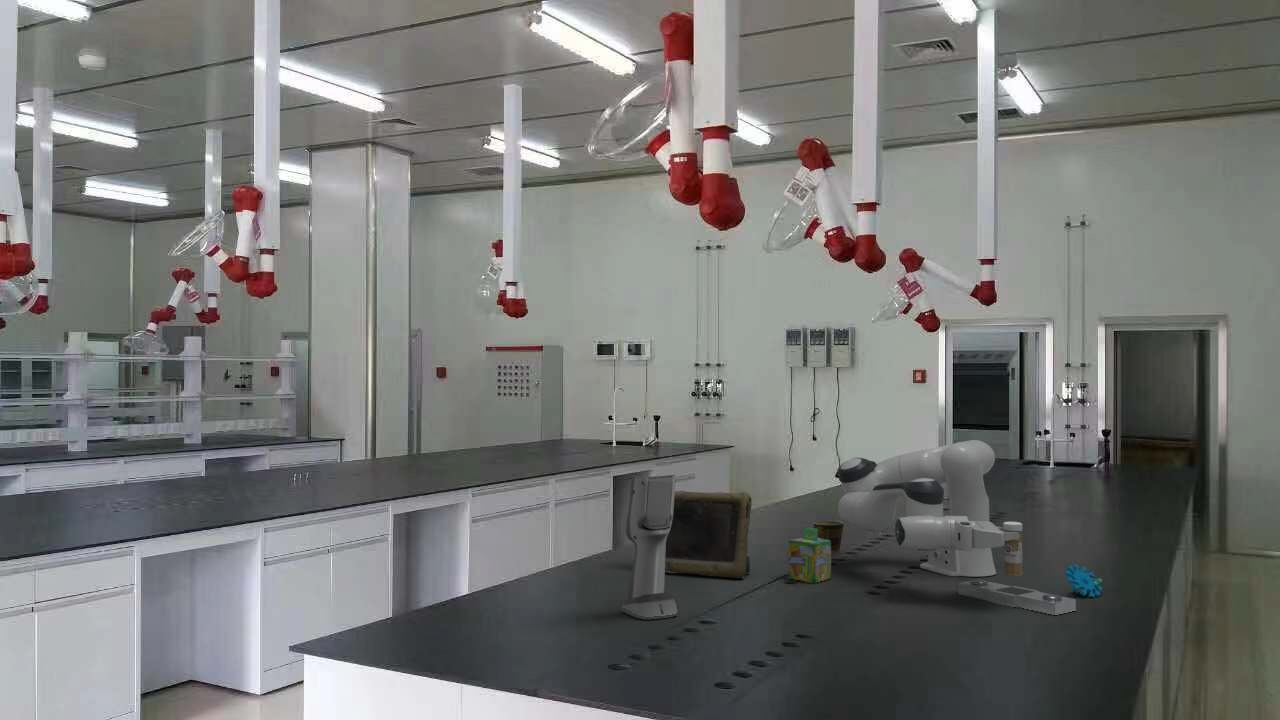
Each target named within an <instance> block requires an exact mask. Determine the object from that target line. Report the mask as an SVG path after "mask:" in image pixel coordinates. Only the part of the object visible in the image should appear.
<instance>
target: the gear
mask: <svg viewBox="0 0 1280 720" xmlns="http://www.w3.org/2000/svg"><path fill="white" fill-rule="evenodd" d="M1079 567H1080V566H1079V565H1078V564H1075V563H1074V564H1073V565H1068V566H1067V568H1066V572H1065V573H1064V575H1065V576H1067V577H1068V578H1067V579H1066V581H1067V583H1069V584H1074V585H1072V587H1071V588H1072V589H1071V590H1070V591H1071V593H1072V592H1075V593H1076V592H1078V591H1079V589H1080V590H1081V591H1080V595H1082V596H1083V597H1085V596H1086V595H1087V593H1089V594H1088V597H1089V598H1090V597H1093V598H1094V597H1099V596H1100V595H1101V593H1100V592H1101V591H1102V589H1103V588H1102V586H1100V584H1101V583H1102V582H1103V580H1102V578H1100V577H1099V578H1094V577H1095V574H1094V573H1093V572H1092V571H1090V572H1089V573H1086V571H1087V567H1085V566H1081V568H1080V570H1079ZM1087 591H1088V592H1087Z"/></svg>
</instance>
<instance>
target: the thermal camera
mask: <svg viewBox="0 0 1280 720" xmlns="http://www.w3.org/2000/svg"><path fill="white" fill-rule="evenodd" d="M676 479H677V478H676V475H674V474H671V475H667V474H666V475H659V476H658V475H657V476H639V477H632V478H631V480H630V488H629V489H630V491H629V502H628V508H627V509H628V510H627V517H626V524H625V525H626V526H625V535H626V537H627V539H628V540H629V541H631V542H632V543H633V544H634V545H635V555H634V560H633V565H632V570H631V575H630V580H629V585H628V594H627V595H628V596H627V600H626V601H624V602H623V604H621V608H622V607H623V608H626V609H627V610H629V611H631V612H632V613H634V614H637V615H639V616H644V617H654V616H665V615H672V614H676V613H677V612H678V609H677V608H678V607H677V604H676V602H675V601H676V600H675V599H674V597H673V595H672V594H671V593H669V592H665V576H666V573H665V552H666V539H667V536H668V534H669V531H670V529H671V524H672V519H673V511H674V496H675V491H676Z"/></svg>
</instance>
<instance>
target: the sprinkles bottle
mask: <svg viewBox="0 0 1280 720" xmlns="http://www.w3.org/2000/svg"><path fill="white" fill-rule="evenodd" d="M1002 527H1003V529H1004V532H1018V533H1019V539H1018V540H1007V541H1004V546H1003V553H1004V554H1003V559H1004V560H1003V561H1004V572H1003V574H1004V575H1006V576H1009V577H1021V576H1023V574H1024V573H1023V542H1022V541H1023V540H1022V539H1023V536H1022V532H1023V523H1021V522H1020V521H1019V522H1018V521H1004V522H1003V525H1002Z"/></svg>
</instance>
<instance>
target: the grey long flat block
mask: <svg viewBox="0 0 1280 720" xmlns="http://www.w3.org/2000/svg"><path fill="white" fill-rule="evenodd" d="M957 595H959V596H964V597H969V598H972V597H973V598H974V599H977V600H981V599H982V601H987V602H989V603H990V602H991V603H990V604H995V603H996V605H999V604H1001V605H1000V606H1004V605H1005V606H1004V607H1008V606H1010V607H1009V608H1013V607H1016V608H1017V607H1019V608H1018V609H1022V608H1024V609H1023V610H1026V609H1029V610H1028V611H1031V610H1034V611H1033V612H1035V611H1039V612H1038V613H1040V612H1043V613H1042V614H1044V613H1047V614H1046V615H1048V614H1052V615H1051V616H1053V615H1058V616H1060V615H1059V614H1063V613H1067V612H1072V611H1077V608H1076V607H1077V604H1076V603H1077V602H1076V601H1077V600H1076V598H1072V597H1071V598H1070V597H1066V596H1061V595H1058V594H1053V593H1052V594H1051V593H1047V592H1042V591H1039V590H1036V589H1030V588H1025V587H1022V586H1021V587H1020V586H1016V585H1013V586H1011V585H1006V584H1003V583H1002V584H1001V583H998V582H992V581H988V580H984V579H971V580H966V581H962V582H957ZM1020 607H1021V608H1020ZM1072 613H1073V612H1072ZM1067 614H1068V613H1067ZM1063 615H1064V614H1063Z"/></svg>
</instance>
